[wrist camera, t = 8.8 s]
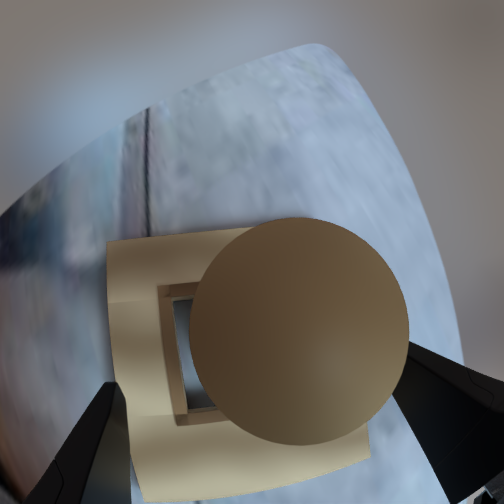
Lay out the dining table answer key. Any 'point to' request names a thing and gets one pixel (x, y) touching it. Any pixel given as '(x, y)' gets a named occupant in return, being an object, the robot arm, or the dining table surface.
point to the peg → (298, 331)
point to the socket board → (173, 389)
